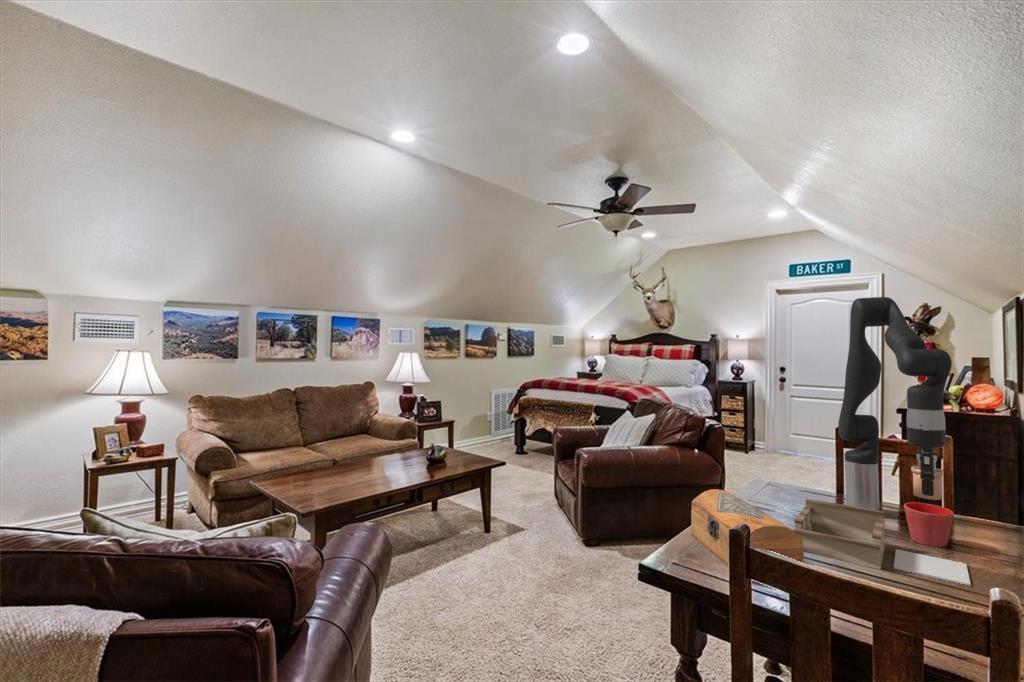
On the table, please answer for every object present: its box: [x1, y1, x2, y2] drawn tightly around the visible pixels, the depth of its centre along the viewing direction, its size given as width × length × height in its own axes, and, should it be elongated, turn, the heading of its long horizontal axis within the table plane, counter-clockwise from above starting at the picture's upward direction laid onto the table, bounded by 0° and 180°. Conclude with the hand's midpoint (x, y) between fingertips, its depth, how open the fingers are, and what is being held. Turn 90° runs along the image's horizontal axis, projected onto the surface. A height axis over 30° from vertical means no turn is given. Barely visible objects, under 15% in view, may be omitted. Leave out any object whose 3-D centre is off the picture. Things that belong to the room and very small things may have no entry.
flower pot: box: [903, 501, 954, 548], centre depth 136 cm, size 11×11×10 cm
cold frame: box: [793, 497, 886, 570], centre depth 133 cm, size 19×19×10 cm
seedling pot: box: [910, 465, 944, 501], centre depth 121 cm, size 6×6×9 cm
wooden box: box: [690, 488, 805, 583], centre depth 129 cm, size 30×16×14 cm, turn 2°
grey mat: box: [893, 548, 971, 587], centre depth 120 cm, size 14×14×1 cm
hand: (927, 492), depth 121 cm, fingers closed on seedling pot, 5 cm apart
